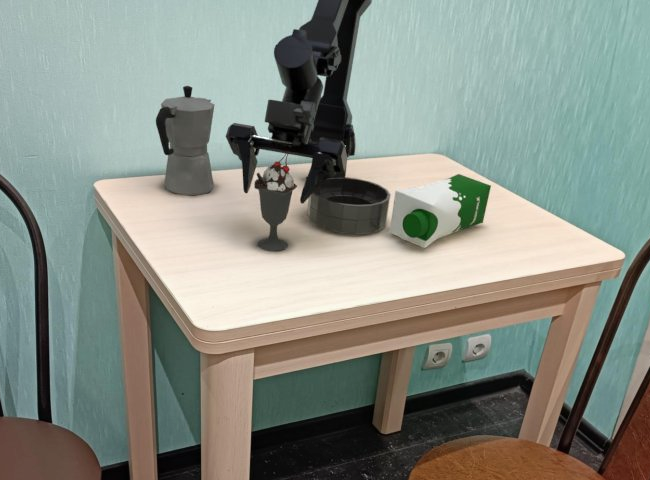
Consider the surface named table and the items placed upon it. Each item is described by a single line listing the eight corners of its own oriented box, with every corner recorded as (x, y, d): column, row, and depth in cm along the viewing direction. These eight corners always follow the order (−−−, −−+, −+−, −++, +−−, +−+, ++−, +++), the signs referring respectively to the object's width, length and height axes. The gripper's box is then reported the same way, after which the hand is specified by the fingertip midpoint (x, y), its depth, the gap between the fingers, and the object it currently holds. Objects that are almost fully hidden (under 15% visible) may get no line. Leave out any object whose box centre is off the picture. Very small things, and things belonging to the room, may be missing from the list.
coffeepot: (188, 172, 148) (187, 75, 138) (229, 183, 145) (231, 84, 135) (138, 193, 137) (133, 89, 127) (182, 206, 134) (180, 100, 124)
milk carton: (486, 229, 138) (418, 255, 125) (446, 213, 142) (377, 237, 130) (496, 181, 133) (427, 204, 120) (455, 166, 138) (384, 187, 125)
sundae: (299, 241, 125) (305, 150, 117) (284, 256, 120) (289, 162, 111) (262, 233, 127) (266, 143, 118) (245, 247, 121) (248, 154, 113)
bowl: (291, 214, 135) (293, 184, 132) (350, 201, 143) (353, 172, 140) (342, 242, 127) (345, 211, 123) (402, 227, 135) (407, 197, 132)
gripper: (231, 67, 114) (202, 160, 111) (351, 86, 111) (324, 182, 108) (247, 110, 125) (221, 196, 122) (357, 128, 122) (333, 216, 119)
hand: (273, 197), depth 118 cm, fingers open, 9 cm apart
